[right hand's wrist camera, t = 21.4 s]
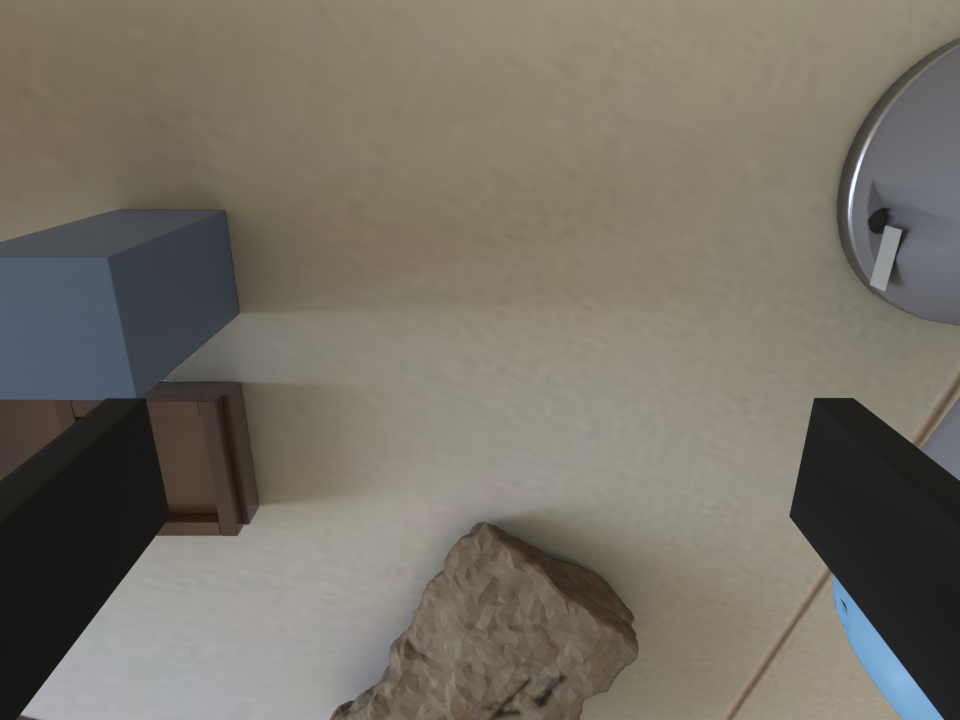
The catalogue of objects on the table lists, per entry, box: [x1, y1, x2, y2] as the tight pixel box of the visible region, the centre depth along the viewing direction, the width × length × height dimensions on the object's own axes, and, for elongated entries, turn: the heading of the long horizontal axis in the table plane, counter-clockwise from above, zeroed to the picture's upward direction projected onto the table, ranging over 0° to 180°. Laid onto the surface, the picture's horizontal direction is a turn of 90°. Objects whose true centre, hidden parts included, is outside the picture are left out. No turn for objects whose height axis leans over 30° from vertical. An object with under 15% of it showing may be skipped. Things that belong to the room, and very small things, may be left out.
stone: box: [330, 522, 638, 720], centre depth 44 cm, size 21×15×6 cm
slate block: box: [0, 210, 239, 400], centre depth 31 cm, size 6×6×12 cm
